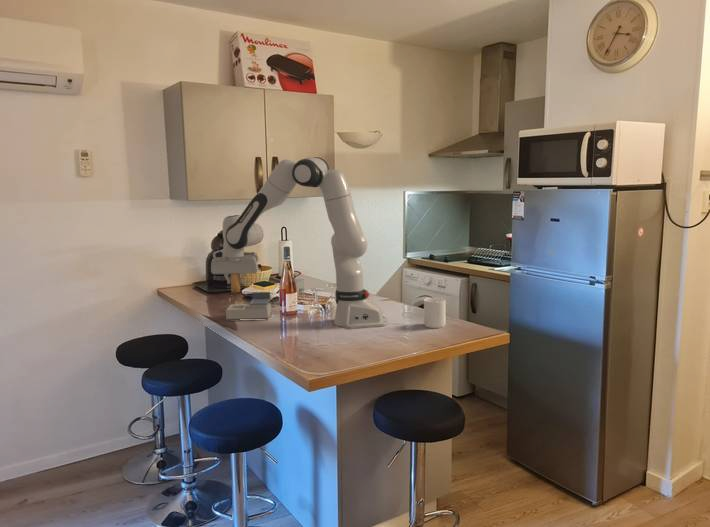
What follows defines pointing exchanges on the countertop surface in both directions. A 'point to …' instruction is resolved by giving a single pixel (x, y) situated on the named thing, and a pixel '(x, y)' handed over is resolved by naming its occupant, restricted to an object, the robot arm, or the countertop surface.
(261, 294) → the cover
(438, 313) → the mug
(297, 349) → the countertop surface
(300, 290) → the ink box
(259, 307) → the housing
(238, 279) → the tan upright cylinder
